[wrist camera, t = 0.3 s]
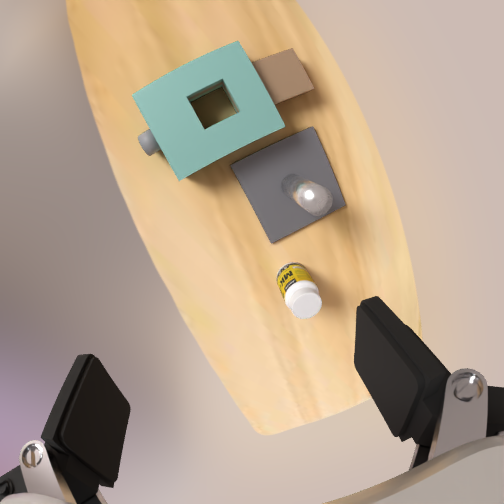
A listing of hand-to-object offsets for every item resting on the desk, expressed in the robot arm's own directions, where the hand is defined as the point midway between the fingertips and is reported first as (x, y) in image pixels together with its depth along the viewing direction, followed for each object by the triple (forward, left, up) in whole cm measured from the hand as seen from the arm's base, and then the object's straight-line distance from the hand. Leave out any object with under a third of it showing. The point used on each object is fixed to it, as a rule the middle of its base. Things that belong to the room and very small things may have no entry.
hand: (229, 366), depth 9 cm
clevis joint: (-11, -6, -29) cm, 32 cm away
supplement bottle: (+4, +15, -29) cm, 33 cm away
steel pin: (-7, +7, -29) cm, 30 cm away
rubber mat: (-7, +7, -29) cm, 31 cm away
